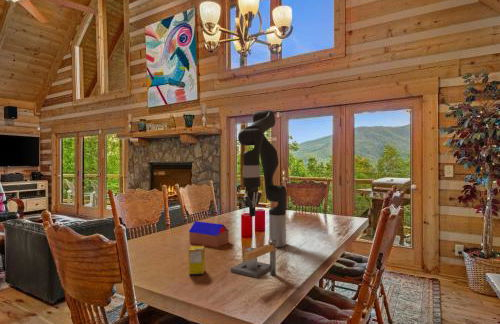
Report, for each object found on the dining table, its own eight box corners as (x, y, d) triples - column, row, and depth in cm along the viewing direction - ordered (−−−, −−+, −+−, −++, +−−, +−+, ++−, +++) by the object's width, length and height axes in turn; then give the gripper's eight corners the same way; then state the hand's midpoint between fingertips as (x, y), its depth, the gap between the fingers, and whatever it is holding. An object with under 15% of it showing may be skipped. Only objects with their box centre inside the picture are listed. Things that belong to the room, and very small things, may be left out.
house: (217, 248, 170) (217, 226, 169) (188, 243, 180) (188, 223, 179) (229, 242, 180) (229, 222, 180) (201, 238, 190) (201, 219, 190)
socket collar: (247, 262, 145) (247, 259, 145) (271, 268, 138) (271, 264, 138) (230, 271, 134) (230, 268, 134) (256, 277, 127) (256, 274, 127)
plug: (249, 267, 140) (249, 247, 139) (259, 269, 137) (259, 248, 137) (243, 270, 135) (243, 250, 135) (253, 273, 133) (253, 251, 132)
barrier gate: (242, 285, 119) (242, 249, 118) (272, 271, 133) (271, 239, 133) (250, 288, 116) (249, 251, 116) (278, 273, 131) (278, 240, 130)
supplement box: (205, 270, 136) (204, 245, 136) (203, 275, 130) (203, 249, 130) (191, 270, 136) (191, 245, 136) (189, 275, 130) (188, 249, 130)
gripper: (252, 174, 141) (252, 212, 141) (235, 176, 129) (236, 218, 130) (266, 174, 137) (267, 214, 137) (251, 177, 125) (251, 220, 126)
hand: (252, 216), depth 134 cm, fingers closed
